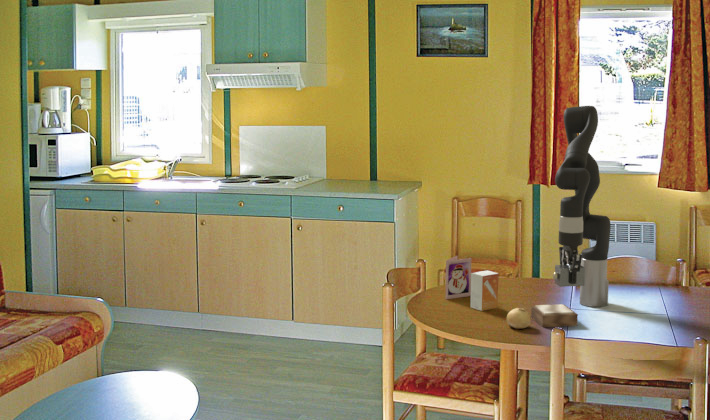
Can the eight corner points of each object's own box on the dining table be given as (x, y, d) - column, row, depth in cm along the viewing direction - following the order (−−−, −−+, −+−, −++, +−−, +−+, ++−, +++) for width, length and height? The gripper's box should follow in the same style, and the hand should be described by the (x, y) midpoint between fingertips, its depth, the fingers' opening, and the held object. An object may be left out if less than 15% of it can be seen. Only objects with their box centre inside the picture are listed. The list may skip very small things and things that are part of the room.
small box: (481, 311, 288) (482, 276, 286) (470, 307, 293) (470, 272, 291) (498, 307, 292) (499, 273, 290) (486, 304, 297) (487, 269, 295)
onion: (507, 330, 265) (508, 309, 264) (504, 323, 273) (505, 303, 272) (532, 330, 264) (533, 310, 263) (528, 323, 272) (529, 303, 271)
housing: (578, 282, 262) (578, 264, 261) (584, 285, 257) (584, 267, 256) (551, 283, 261) (551, 265, 260) (556, 286, 256) (557, 268, 256)
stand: (564, 315, 281) (564, 303, 280) (577, 325, 269) (577, 312, 269) (531, 317, 280) (531, 304, 279) (542, 327, 268) (542, 314, 267)
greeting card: (446, 299, 304) (447, 261, 301) (436, 295, 310) (436, 257, 308) (472, 296, 308) (472, 258, 306) (461, 292, 315) (462, 254, 313)
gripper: (591, 233, 250) (589, 286, 253) (573, 225, 264) (572, 276, 267) (567, 234, 249) (566, 287, 252) (551, 226, 263) (550, 276, 266)
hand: (569, 281), depth 259 cm, fingers closed on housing, 5 cm apart
